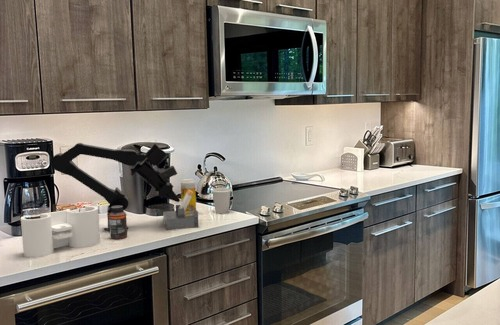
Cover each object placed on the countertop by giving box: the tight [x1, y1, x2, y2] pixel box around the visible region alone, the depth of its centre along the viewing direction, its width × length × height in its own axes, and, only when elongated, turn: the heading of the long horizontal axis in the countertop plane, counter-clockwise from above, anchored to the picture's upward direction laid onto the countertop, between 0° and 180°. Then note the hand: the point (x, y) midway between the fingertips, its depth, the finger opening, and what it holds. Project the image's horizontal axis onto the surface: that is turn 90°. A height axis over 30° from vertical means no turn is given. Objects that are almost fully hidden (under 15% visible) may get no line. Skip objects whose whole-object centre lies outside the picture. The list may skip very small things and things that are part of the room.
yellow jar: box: [180, 178, 197, 210], centre depth 210 cm, size 6×6×15 cm
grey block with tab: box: [162, 204, 199, 231], centre depth 193 cm, size 12×14×7 cm
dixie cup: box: [211, 187, 232, 215], centre depth 213 cm, size 8×8×10 cm
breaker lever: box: [179, 189, 193, 212], centre depth 193 cm, size 2×5×9 cm, turn 15°
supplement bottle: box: [109, 205, 128, 240], centre depth 176 cm, size 6×6×11 cm
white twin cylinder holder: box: [20, 205, 101, 258], centre depth 164 cm, size 25×10×12 cm, turn 132°
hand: (179, 201), depth 192 cm, fingers closed
